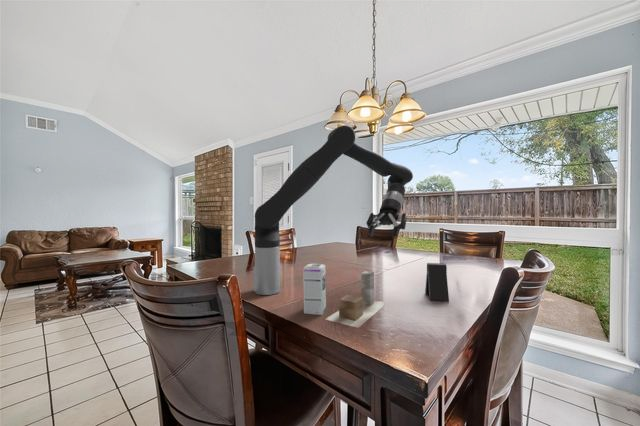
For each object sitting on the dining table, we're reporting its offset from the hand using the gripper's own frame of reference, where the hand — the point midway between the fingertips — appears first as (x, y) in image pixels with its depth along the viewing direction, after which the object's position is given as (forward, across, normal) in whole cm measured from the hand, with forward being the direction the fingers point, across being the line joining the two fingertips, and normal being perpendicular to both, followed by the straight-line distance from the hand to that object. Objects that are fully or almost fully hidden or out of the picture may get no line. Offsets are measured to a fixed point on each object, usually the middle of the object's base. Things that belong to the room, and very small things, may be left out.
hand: (381, 235), depth 98 cm
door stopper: (+9, +17, +22) cm, 29 cm away
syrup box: (+35, -11, -4) cm, 37 cm away
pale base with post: (+30, 0, +1) cm, 30 cm away
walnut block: (+32, 0, -3) cm, 33 cm away
